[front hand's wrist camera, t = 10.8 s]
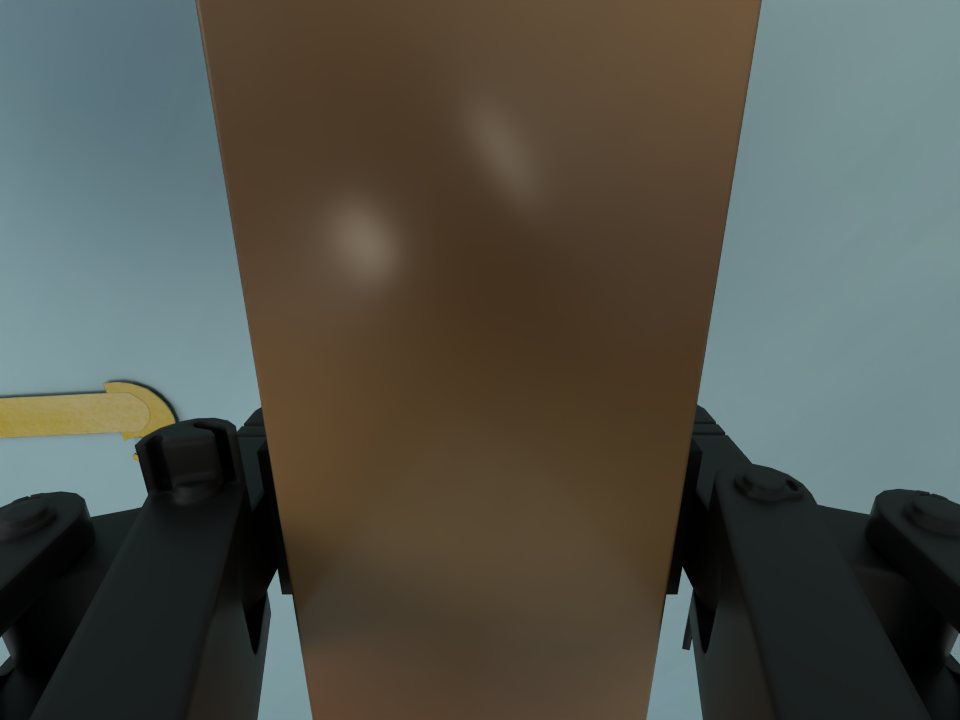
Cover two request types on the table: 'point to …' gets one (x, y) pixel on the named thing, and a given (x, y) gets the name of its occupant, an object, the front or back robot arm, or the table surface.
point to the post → (478, 328)
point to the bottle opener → (86, 413)
